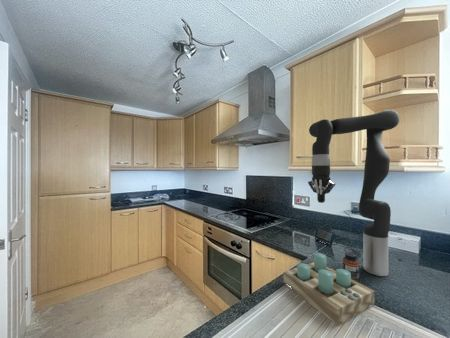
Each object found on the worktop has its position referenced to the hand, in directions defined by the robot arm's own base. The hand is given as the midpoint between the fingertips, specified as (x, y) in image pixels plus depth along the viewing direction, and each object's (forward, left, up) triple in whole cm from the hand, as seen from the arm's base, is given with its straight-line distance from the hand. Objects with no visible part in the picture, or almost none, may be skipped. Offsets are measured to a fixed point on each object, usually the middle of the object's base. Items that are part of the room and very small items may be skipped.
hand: (321, 202), depth 88 cm
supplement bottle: (-7, +9, -33) cm, 35 cm away
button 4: (+6, +14, -30) cm, 34 cm away
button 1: (+16, +4, -30) cm, 34 cm away
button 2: (+6, +4, -28) cm, 29 cm away
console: (+11, +10, -33) cm, 36 cm away
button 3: (+16, +14, -28) cm, 35 cm away
